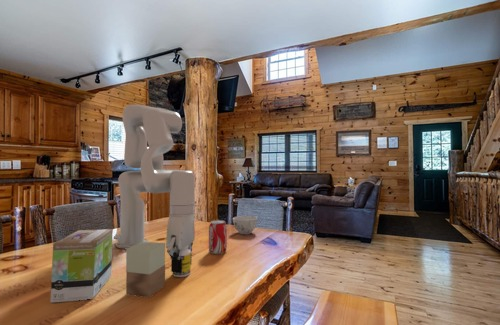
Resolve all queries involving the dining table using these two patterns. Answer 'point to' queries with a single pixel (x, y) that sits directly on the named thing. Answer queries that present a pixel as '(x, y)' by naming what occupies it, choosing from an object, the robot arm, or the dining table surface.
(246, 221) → the teacup
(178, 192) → the robot arm
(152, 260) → the top block
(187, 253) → the supplement bottle
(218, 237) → the soda can
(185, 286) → the dining table surface
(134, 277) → the bottom block
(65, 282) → the tea box
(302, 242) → the dining table surface
